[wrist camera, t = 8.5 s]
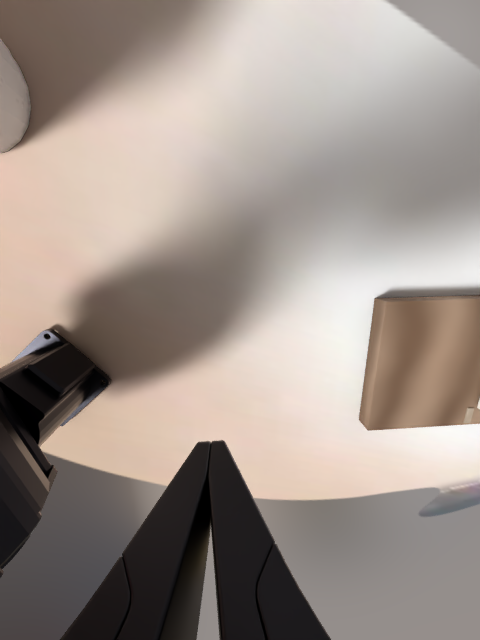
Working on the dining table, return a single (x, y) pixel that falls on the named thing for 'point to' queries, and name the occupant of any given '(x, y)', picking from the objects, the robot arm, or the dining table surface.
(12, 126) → the coffee cup
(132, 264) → the dining table surface
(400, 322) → the board
